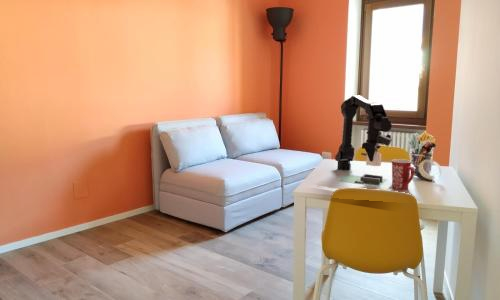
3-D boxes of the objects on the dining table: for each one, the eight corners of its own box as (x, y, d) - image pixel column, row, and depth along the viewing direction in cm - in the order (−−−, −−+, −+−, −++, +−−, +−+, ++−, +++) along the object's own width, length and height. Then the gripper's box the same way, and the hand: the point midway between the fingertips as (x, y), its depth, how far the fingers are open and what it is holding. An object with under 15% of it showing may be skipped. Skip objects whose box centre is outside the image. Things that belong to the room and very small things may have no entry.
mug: (386, 186, 200) (387, 159, 198) (401, 184, 203) (403, 158, 201) (402, 193, 189) (404, 164, 186) (419, 191, 191) (421, 163, 189)
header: (360, 181, 203) (360, 177, 203) (364, 178, 210) (364, 173, 209) (378, 184, 199) (378, 179, 198) (382, 180, 205) (382, 176, 204)
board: (337, 183, 205) (337, 179, 205) (347, 177, 219) (347, 173, 218) (379, 189, 195) (379, 185, 194) (387, 182, 208) (387, 177, 208)
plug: (360, 164, 204) (360, 150, 203) (362, 163, 207) (362, 149, 206) (379, 166, 199) (380, 152, 198) (381, 165, 202) (381, 151, 201)
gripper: (386, 132, 187) (384, 166, 190) (395, 128, 203) (393, 159, 206) (362, 131, 193) (360, 163, 196) (372, 126, 209) (371, 156, 212)
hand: (372, 160), depth 202 cm, fingers closed on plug, 3 cm apart
